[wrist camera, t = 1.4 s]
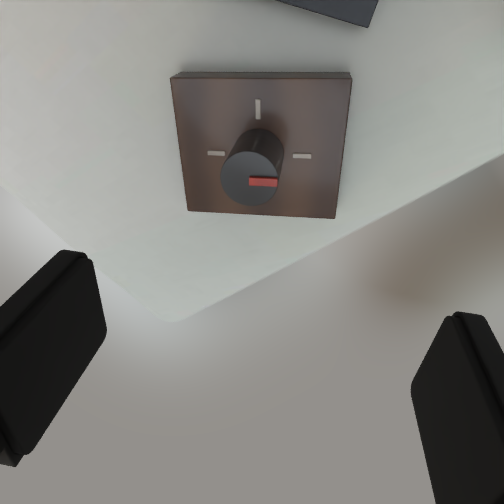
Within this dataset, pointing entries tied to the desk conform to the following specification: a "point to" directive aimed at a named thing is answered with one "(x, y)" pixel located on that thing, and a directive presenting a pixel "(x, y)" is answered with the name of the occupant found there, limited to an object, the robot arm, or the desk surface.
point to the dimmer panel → (268, 118)
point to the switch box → (340, 9)
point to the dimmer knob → (253, 168)
